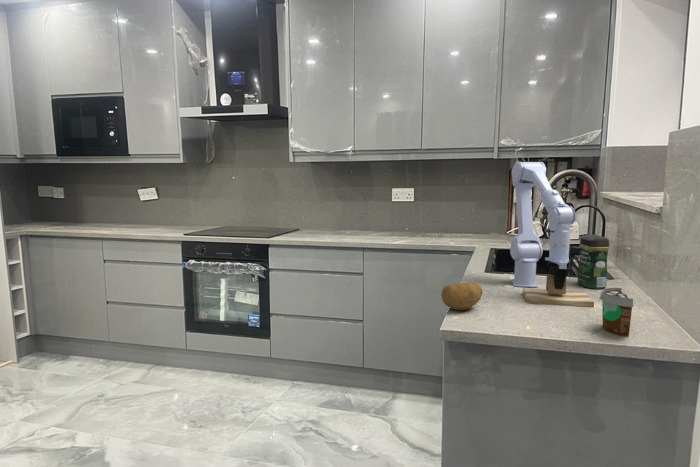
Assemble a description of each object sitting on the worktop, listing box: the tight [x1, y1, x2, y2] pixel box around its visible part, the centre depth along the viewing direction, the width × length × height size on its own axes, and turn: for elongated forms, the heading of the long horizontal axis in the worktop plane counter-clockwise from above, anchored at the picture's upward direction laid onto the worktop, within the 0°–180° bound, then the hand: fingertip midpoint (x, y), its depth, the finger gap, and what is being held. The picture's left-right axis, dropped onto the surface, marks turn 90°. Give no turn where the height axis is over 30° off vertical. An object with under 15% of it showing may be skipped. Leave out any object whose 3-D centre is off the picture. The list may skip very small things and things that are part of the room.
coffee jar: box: [577, 233, 610, 290], centre depth 170 cm, size 10×8×19 cm
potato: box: [440, 282, 483, 311], centre depth 143 cm, size 10×14×8 cm
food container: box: [599, 287, 634, 337], centre depth 125 cm, size 12×6×10 cm, turn 163°
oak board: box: [522, 287, 595, 308], centre depth 154 cm, size 13×19×2 cm
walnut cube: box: [545, 274, 567, 295], centre depth 153 cm, size 5×5×5 cm
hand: (557, 286), depth 153 cm, fingers closed on walnut cube, 5 cm apart
